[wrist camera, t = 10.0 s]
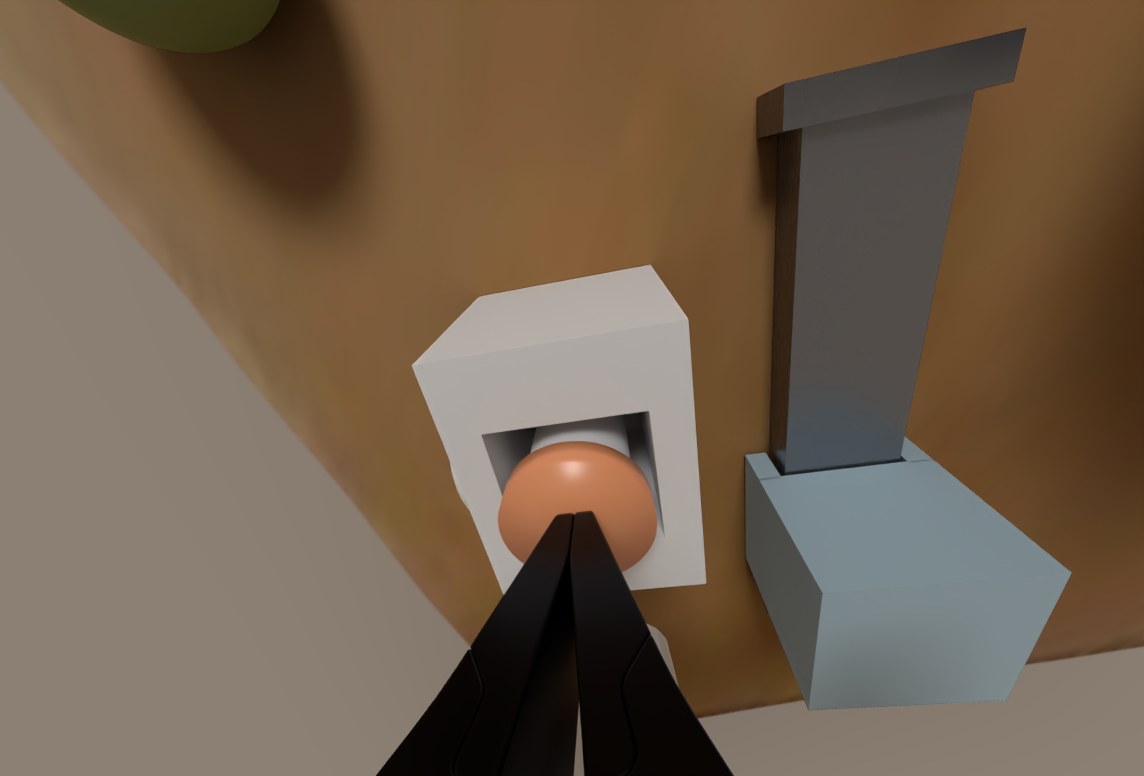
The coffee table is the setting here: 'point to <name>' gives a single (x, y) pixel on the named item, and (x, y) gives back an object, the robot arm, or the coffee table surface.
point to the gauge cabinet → (573, 401)
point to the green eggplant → (180, 21)
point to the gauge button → (580, 488)
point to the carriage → (895, 583)
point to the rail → (863, 242)
